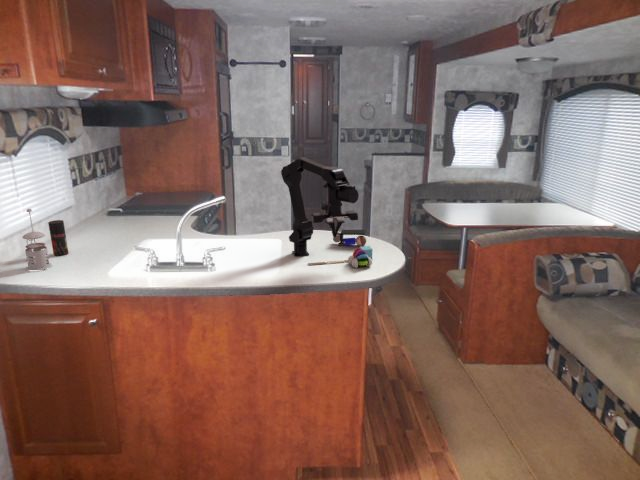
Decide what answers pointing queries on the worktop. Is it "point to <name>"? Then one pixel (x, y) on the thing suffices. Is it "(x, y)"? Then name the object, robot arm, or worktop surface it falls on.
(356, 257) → the multicolored white-lobed toy
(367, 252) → the teal cube
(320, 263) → the brown segmented strip
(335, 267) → the worktop surface
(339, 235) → the figurine character
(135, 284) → the worktop surface
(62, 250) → the deodorant
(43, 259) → the french press
